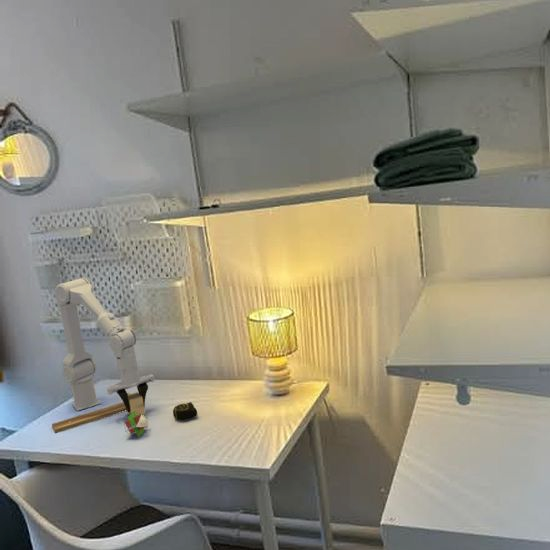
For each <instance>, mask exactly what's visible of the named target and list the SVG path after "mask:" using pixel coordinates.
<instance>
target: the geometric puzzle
mask: <svg viewBox="0 0 550 550" xmlns="http://www.w3.org/2000/svg"><path fill="white" fill-rule="evenodd" d="M139 414H140V413H139ZM128 415H129V414H128ZM123 423H124V425H125V427H126V428H127V429H126V428H124V432H125V433H127V434H128V433H129V434H130V435H133V436H135V437H136V438H139V437H140V436H141V435H143V433H145V432H146V430H147V429H148V427H149V423H148V419H147V416H146V417H145V415H144V416H143V415H142V414H140V415H139V416H137V415H136V414H135V411H134V412H133V413H132V414H131V415H129V416H126V418H125V420H124V422H123ZM128 431H129V432H128ZM134 434H136V435H134Z"/></svg>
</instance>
